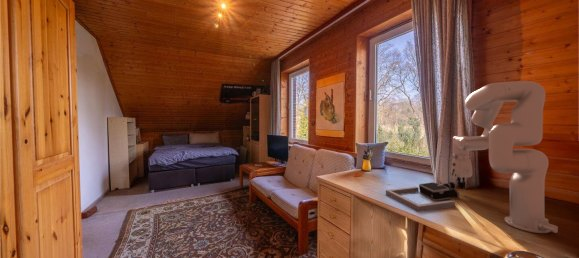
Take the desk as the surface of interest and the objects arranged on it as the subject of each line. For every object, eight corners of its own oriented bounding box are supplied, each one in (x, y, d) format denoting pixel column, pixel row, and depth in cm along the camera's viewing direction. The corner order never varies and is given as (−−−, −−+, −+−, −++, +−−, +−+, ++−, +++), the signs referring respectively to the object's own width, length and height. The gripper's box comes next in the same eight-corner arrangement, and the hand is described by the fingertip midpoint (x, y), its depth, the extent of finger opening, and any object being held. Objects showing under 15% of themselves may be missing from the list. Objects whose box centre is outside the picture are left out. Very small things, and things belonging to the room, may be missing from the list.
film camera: (445, 191, 131) (464, 199, 116) (418, 195, 131) (434, 204, 116) (443, 178, 131) (462, 184, 116) (416, 181, 131) (432, 189, 116)
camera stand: (454, 206, 108) (454, 201, 108) (418, 211, 104) (418, 206, 104) (416, 190, 134) (415, 186, 134) (385, 194, 130) (385, 190, 130)
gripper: (456, 159, 118) (456, 191, 119) (478, 157, 121) (478, 188, 122) (444, 157, 126) (444, 187, 126) (465, 155, 128) (466, 185, 129)
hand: (461, 188), depth 124 cm, fingers closed
